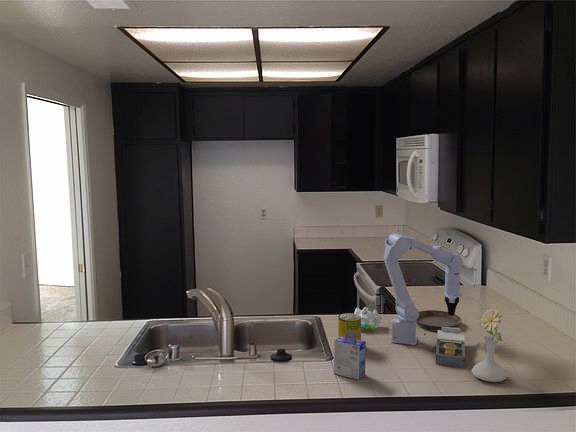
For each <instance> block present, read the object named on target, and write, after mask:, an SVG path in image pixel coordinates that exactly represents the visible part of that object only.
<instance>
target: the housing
mask: <svg viewBox="0 0 576 432" xmlns="http://www.w3.org/2000/svg"><path fill="white" fill-rule="evenodd" d="M446 343H451V344H455V345H456V350H455V356H452V355H445V349H444V344H446ZM465 348H466V347H465V341H464V342H453V341H443V340H437V339H436V349H435V365H441V366H450V367H458V368H465V367H466V353H465V352H466V351H465V350H466V349H465Z"/></svg>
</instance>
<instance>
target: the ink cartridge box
mask: <svg viewBox="0 0 576 432" xmlns="http://www.w3.org/2000/svg"><path fill="white" fill-rule="evenodd" d="M348 335H353V336H354V338H353V337H348ZM356 335H357V334H356V333H351V332H347V335H346V337H339V338H338V337H337V339H335V340H334V344H333V345H334V349H333V350H334V351H333V352H334V353H333V354H334V355H333V357H334V360H333V375H339V376H342V377H346V378H350V379H355V380H361V379H362V378H363V377H365V376H366V354H367V353H366V351H367V348H366V345H367V344H366V340H363V339H361V340H357V339H356Z"/></svg>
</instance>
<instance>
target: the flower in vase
mask: <svg viewBox="0 0 576 432" xmlns="http://www.w3.org/2000/svg"><path fill="white" fill-rule="evenodd" d="M502 318H503V315H502V314H501V312H499V310H498V309H497V308H495V309H493V308H490V309H487V311H484V312H483V314H482V317H481V319H480V322H481V324H480V327H482V330H483V329H484V332H487V333H488V334H489V335H486V336H482V339H483V341H484V342H485V346H486V357H485V359H484V360H482V361H480V362H478V363H476V364H475V365H474V366H473V367H472V369H471V373H472V375H473V376H475V377H476V378H477V379H480V380H482V381H485V382H492V383H498V382H503V381H506V380H507V378H508V372H507V371H506V369H505V368H504V367H503V366H501V365H500V364H499V363H498V362H497V361H496V359H495V347H496V345H497V343H498V342H499V341H503V338H502V334H501V332H498V329H497V328H499V326H500V325H501V324H502V320H503V319H502ZM494 331H495V333H494Z"/></svg>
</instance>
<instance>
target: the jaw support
mask: <svg viewBox="0 0 576 432" xmlns="http://www.w3.org/2000/svg"><path fill="white" fill-rule="evenodd" d="M353 314H357V315H360V316H361V328H367V329H370V330H375V329H376V328H378V327H379V326H380V323H381V321H382V318H383V317H382V315H380V314H379V312H378V311H377V309H373V311H370V310H369V308H368V307H366V306H365V307H363V309H360V308H359V307H356V308H355V310H354V313H353ZM371 320H372V323H373V324H371V323H370V322H371Z"/></svg>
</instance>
